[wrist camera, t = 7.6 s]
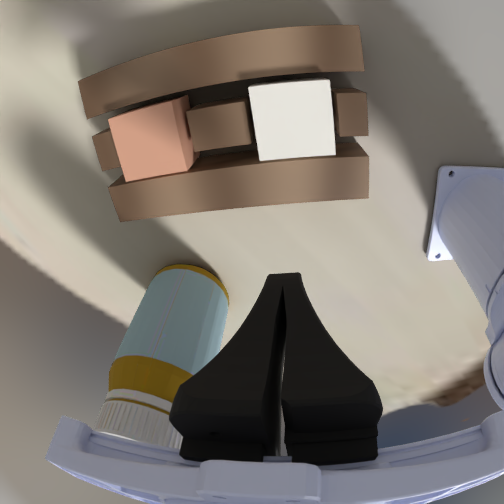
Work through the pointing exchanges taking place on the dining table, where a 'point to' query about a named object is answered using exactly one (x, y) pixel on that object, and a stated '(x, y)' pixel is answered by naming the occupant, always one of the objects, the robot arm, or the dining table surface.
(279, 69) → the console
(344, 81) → the dining table surface
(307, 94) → the cream key
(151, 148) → the terracotta key
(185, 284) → the bottle
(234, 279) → the dining table surface
